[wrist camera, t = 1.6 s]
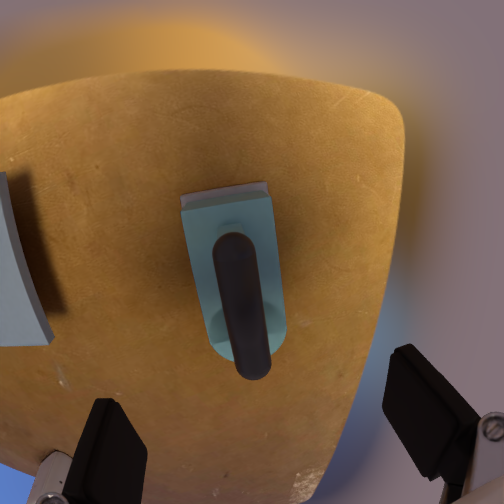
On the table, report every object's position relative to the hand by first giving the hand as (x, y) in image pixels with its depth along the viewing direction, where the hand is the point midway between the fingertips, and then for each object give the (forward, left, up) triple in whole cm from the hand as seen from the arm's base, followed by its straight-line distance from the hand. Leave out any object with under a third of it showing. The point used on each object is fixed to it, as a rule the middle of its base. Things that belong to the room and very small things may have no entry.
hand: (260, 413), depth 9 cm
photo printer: (+28, -33, -15) cm, 46 cm away
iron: (0, 0, -15) cm, 15 cm away
